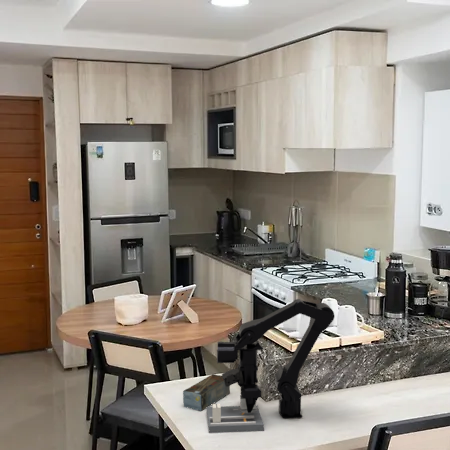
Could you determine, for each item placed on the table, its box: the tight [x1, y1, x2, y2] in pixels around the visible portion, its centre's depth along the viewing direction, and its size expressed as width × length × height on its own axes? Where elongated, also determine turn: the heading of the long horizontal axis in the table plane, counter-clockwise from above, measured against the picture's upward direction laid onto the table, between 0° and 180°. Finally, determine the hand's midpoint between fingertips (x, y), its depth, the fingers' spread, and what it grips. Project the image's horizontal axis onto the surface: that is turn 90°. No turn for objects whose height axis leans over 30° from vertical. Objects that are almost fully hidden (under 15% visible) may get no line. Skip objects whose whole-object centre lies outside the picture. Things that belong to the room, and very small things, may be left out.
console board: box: [206, 404, 265, 434], centre depth 200 cm, size 17×15×3 cm
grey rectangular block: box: [239, 394, 257, 409], centre depth 205 cm, size 5×2×4 cm, turn 95°
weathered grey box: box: [182, 373, 231, 412], centre depth 218 cm, size 8×19×7 cm, turn 148°
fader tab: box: [211, 403, 222, 423], centre depth 195 cm, size 2×3×5 cm
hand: (248, 408), depth 205 cm, fingers open, 6 cm apart
